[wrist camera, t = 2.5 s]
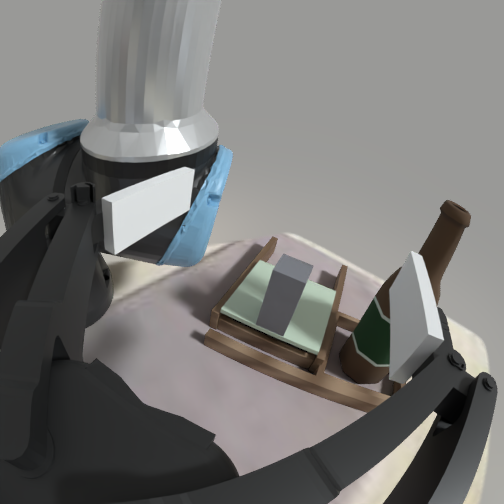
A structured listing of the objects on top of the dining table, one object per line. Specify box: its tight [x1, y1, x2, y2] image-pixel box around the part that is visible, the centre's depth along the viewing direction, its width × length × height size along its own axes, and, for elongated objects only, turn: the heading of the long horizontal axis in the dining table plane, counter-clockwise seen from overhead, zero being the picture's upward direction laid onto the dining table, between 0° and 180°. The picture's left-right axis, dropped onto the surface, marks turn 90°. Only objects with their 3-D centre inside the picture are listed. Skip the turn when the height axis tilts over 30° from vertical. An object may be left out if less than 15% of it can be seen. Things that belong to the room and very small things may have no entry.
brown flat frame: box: [204, 237, 406, 412], centre depth 39 cm, size 27×26×3 cm
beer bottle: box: [339, 200, 471, 384], centre depth 27 cm, size 8×8×24 cm
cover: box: [220, 254, 336, 355], centre depth 34 cm, size 13×13×9 cm
